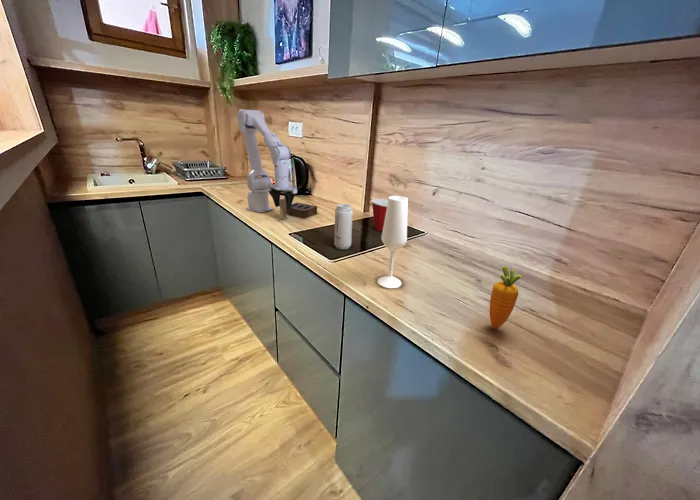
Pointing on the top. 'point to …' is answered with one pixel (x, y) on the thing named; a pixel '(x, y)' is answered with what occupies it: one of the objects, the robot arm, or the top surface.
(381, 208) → the plastic cup
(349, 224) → the energy drink can
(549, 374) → the top surface
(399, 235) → the champagne flute
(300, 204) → the dark wooden slotted block
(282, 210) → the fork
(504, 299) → the carrot
